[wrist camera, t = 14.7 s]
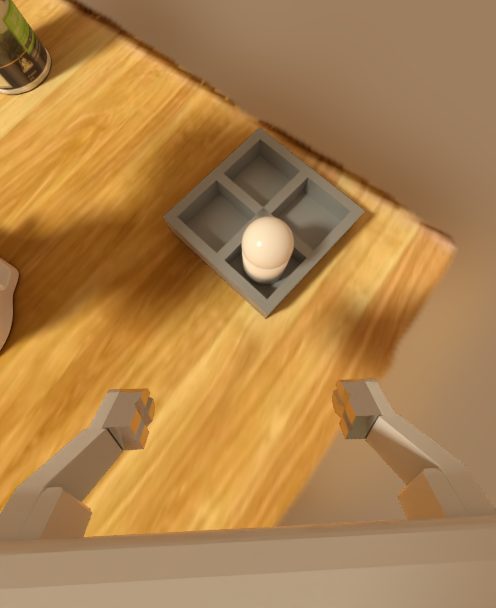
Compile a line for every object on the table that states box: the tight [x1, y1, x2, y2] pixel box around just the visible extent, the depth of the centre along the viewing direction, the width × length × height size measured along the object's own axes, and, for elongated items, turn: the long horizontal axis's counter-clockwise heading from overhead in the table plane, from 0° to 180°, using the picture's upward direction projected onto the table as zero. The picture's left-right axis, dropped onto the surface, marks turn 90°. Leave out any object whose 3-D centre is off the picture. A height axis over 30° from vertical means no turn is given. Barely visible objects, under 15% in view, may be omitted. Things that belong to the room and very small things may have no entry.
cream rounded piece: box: [241, 216, 294, 286], centre depth 24 cm, size 5×5×9 cm
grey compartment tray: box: [163, 128, 365, 319], centre depth 29 cm, size 17×17×4 cm
